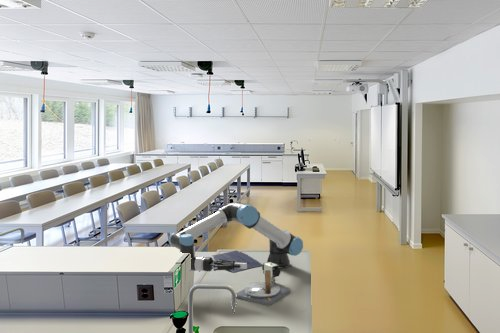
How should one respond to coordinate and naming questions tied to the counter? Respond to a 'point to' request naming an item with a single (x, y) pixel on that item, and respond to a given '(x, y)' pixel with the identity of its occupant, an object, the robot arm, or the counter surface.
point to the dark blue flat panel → (238, 259)
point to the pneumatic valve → (273, 268)
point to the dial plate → (263, 300)
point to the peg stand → (263, 288)
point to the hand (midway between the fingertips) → (246, 265)
